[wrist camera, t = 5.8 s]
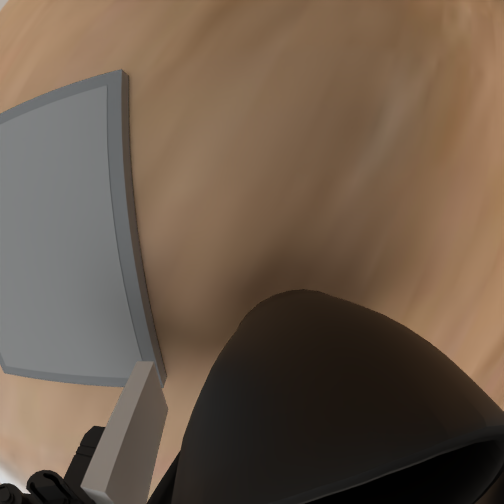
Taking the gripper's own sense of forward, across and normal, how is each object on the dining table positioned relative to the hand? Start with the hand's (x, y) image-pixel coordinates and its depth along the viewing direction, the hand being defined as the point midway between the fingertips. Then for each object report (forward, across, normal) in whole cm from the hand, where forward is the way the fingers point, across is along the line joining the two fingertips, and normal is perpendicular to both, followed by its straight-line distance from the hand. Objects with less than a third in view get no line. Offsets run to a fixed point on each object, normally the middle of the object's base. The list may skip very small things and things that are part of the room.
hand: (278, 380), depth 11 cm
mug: (+2, -1, 0) cm, 2 cm away
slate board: (+5, -14, +6) cm, 16 cm away
